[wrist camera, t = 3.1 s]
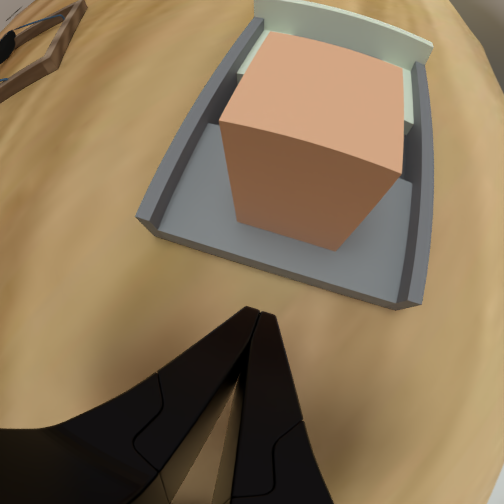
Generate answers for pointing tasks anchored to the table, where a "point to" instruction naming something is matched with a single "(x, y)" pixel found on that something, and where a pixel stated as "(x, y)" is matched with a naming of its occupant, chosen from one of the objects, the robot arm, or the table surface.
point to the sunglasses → (13, 42)
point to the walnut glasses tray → (53, 53)
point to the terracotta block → (312, 138)
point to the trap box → (285, 248)
